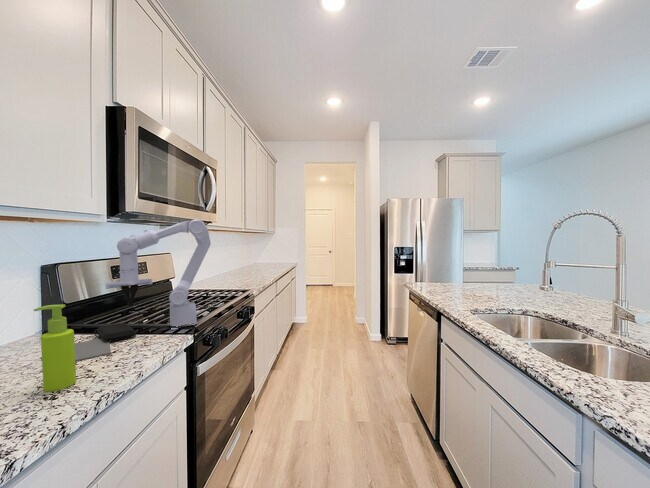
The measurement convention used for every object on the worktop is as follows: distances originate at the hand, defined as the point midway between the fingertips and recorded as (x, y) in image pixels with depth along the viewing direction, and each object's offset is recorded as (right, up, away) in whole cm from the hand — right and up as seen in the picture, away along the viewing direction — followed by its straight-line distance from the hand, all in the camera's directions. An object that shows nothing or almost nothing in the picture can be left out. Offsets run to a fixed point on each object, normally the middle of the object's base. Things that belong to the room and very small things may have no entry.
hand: (130, 305), depth 107 cm
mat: (-4, -11, -17) cm, 21 cm away
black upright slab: (+3, -9, -10) cm, 13 cm away
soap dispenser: (+8, -12, -38) cm, 41 cm away
